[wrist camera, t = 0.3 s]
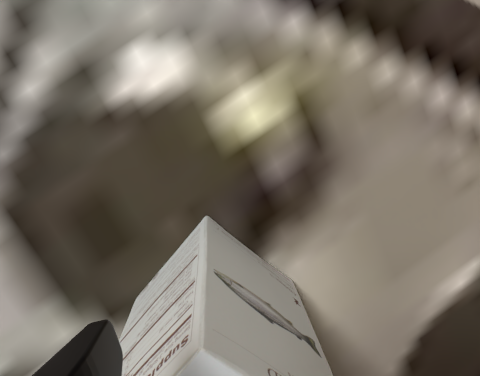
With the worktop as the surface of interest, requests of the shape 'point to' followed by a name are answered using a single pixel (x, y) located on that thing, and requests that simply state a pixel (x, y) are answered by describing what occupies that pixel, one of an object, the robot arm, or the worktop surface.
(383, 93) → the worktop surface
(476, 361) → the worktop surface
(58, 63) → the worktop surface
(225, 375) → the supplement box
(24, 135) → the worktop surface
